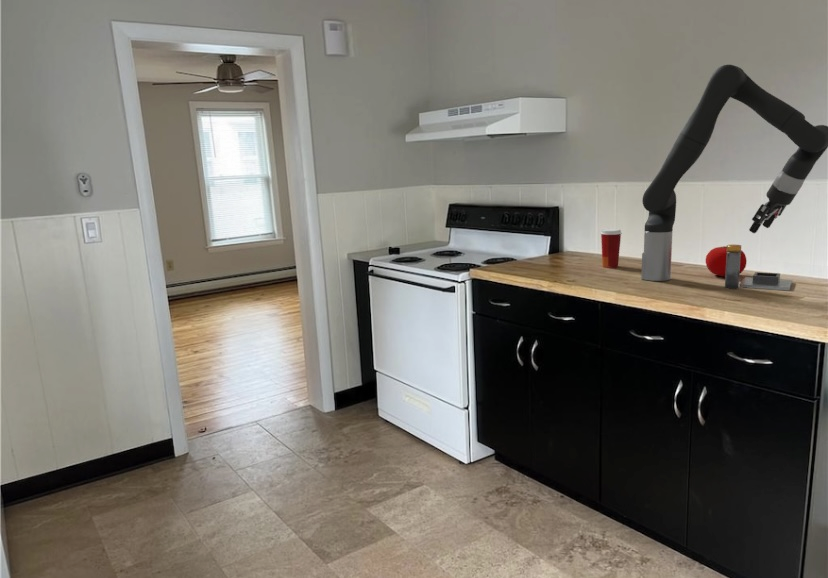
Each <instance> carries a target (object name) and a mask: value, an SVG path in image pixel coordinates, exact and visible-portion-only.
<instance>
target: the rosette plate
mask: <svg viewBox="0 0 828 578" xmlns="http://www.w3.org/2000/svg"><path fill="white" fill-rule="evenodd" d="M792 285H793V279H783V278H781V273H779V272H777V273H776V272H760V271H759V272H754V274H753V275H752V277H750V276H749V277H746V276H745V277H744V278H743V279H742V280H741V282H739V288H743V287H747V288H746V289H759V290H773V291H776V290H777V291H790V289H791V288H792Z"/></svg>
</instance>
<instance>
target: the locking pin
mask: <svg viewBox="0 0 828 578" xmlns="http://www.w3.org/2000/svg"><path fill="white" fill-rule="evenodd" d="M726 247H727V258H726V275H725V277H724V288H725V289H726V288H729V289H728V290H738V289H739V288H740V287H739V284H740V274H741V273H740V257H741V250H742V244H741V245H740V244H727V245H726ZM739 273H740V274H739ZM737 288H738V289H737Z"/></svg>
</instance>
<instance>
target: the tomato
mask: <svg viewBox="0 0 828 578" xmlns="http://www.w3.org/2000/svg"><path fill="white" fill-rule="evenodd" d="M726 258H727V246H717V247H714V248H712V249H711V250H709V251H708V253H707V255H706V256H705V265H706V267H707V269H708V270H709V272H711V273H712V274H713V275H715V276H718V277H723V278H725V275H726ZM746 266H747V256H746V254H745V252H744V251H743V250H742V249H741V257H740V273H739V275H740V274H741V273H742V272H744V270H745V269H746V268H747V267H746Z"/></svg>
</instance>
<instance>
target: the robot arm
mask: <svg viewBox="0 0 828 578" xmlns="http://www.w3.org/2000/svg"><path fill="white" fill-rule="evenodd" d="M730 98H731V99H734V100H736V101H738V102H740V103H742V104H744V105H745V106H747V107H748V108H750V109H751V110H753V111H754V112H755V113H756V114H757V115H758V116H759V117H761V118H762V119H763V120H765V122H767V123H768V124H770V125H771V126H773V127H774V128H776V130H779V132H781V133H783V134H785V135H786V136H787V137H788V138H789V140H791V141H792V142H793V143H794V144H795V145H796V146H797V147H798V148H797V150H795V152H794V153H793V154H792V155H791V156H790V157H789V158H788V159H787V162H786V163H785V164H784V166H783V167H782V170H781V171H780V172H779V173H778V174H777V176H776V178H775V179H774V181H773V182H772V184H771V186H770V187H769V189H768V190H767V192H766V197H767V199H768V201H767V202H765V203H762V204H761V205H760V206H759V208H758V209H757V211H756V212H755V214H754V215H753V217H752V218H751V220H752V221H753V222H752V224H751V226H750V227H749V229H748V230H749V231H748V232H751V233H752V234H756V233H757V232H758V231H759V229H760V227H761V226H763V227H765V228H766V229H768V228H770V227H771V226H772V225H773V222H774V221H775V219H777V218H778V217H780V216H781V215H782V214H783V212H784V210H785V209H786V207H787V206H789V205H790V204H791V203H792V202H793V200H794V199H795V198H796V196H797V194H798V193H799V191H800V190H801V188H802V186H803V184H804V183H805V180H807V178H808V176H809V174H811V171H812V170H813V168H814V166H815V164H816V162H817V161H818V160H819V159H820V158H821V157H822V155H823V154H824V153H825V151H827V149H828V125H824V124H818V125H813V124H812V123H810V122H809V121H808V120H806V117H805V115H804V114H803V113H802V112H801V111H800V110H798V109H796V108H794V107H793V106H792V105H790V104H789V103H786V102H785V101H784V100H782V99H781V98H778V97H776V96H775V95H773V94H771V93H769V91H767V90H765V89H764V88H762V87H761V86H760V85H759V84H757V83H756V82H755V81H754V80H753V79H752V78H751V77H750V76H749V75H748V74H747V73H746V72H745V71H744V70H743V69H742V68H741V67H739V66H736V65H733V64H724V65H721V66H719V67H718V68H717V69H715V71H714V72H713V73H712V74H711V76H710V78H709V80H708V82H707V84H706V87H705V89H704V91H703V94H702V96H701V97H700V100H699V102H698V103H697V105H696V107H695V109H694V110H693V111H692V113H691V115H690V116H689V118H688V120H686V121H687V122H686V123H685V124H684V126H683V128H682V130H681V131H680V133H679V135H678V136H677V138H676V140H675V142H673V143H674V144H673V146H672V148H671V150H670V151H669V153H668V155H667V156H666V157H665V160H664V163H663V164H662V166H661V168H660V169H659V171H658V172H657V175H656V176H655V177H654V178H653V180H652V181H651V183H649V185H648V187H647V189H646V190H645V191H644V193H643V195H642V205H643V207H644V209H645V210H646V211H647V212H648V218H647V220H646V222H645V223H644V234H643V235H644V236H643V241H644V242H643V252H642V253H641V277H640V278H641V280H645V281H652V282H653V281H654V282H665V281H670V280H671V278H672V276H671V275H672V272H671V271H672V252H673V251H672V249H673V229H674V228H673V227H674V224H675V221H676V220H675V219H676V212H677V195H676V192H675V189H676V186H677V184H678V183H679V181H680V180H681V178H683V176H684V175H686V173H687V172H688V171H689V170H690V169H691V167H692V166H694V164H696V162H697V161H698V160H699V158H700V156H701V155H702V154H703V152H704V150H705V149H706V147H707V145H708V144H709V142H710V139H711V137H712V135H713V133H714V129H715V126H716V123H717V121H718V117H719V116H720V114H721V112H722V110H723V109H724V107H725V106H726V103H727V102H728V101H729V100H730Z"/></svg>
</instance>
